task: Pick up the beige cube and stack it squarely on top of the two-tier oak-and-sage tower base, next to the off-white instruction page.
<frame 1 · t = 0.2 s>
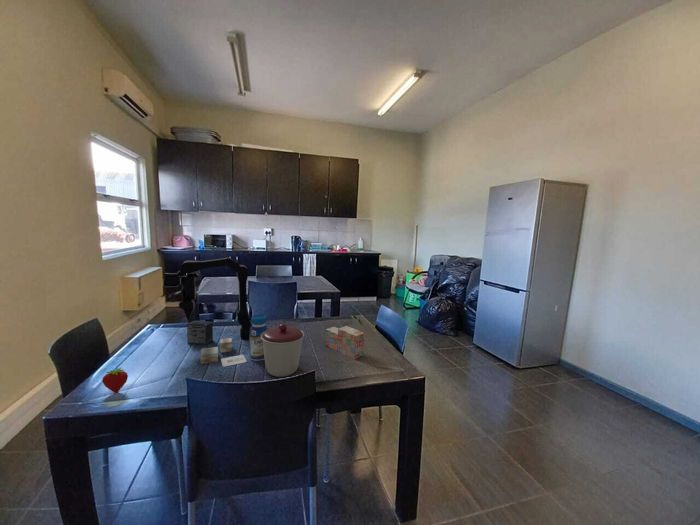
hand: (189, 316, 146), 14 cm above the table, fingers open, 9 cm apart
tower base: (209, 359, 132), on the table
stack of blocks: (343, 351, 147), on the table
canister: (282, 371, 125), on the table
beverage bottle: (258, 357, 136), on the table
beige cube: (226, 350, 142), on the table
small box: (200, 342, 150), on the table
strawberry: (116, 392, 105), on the table
instruction page: (233, 360, 132), on the table
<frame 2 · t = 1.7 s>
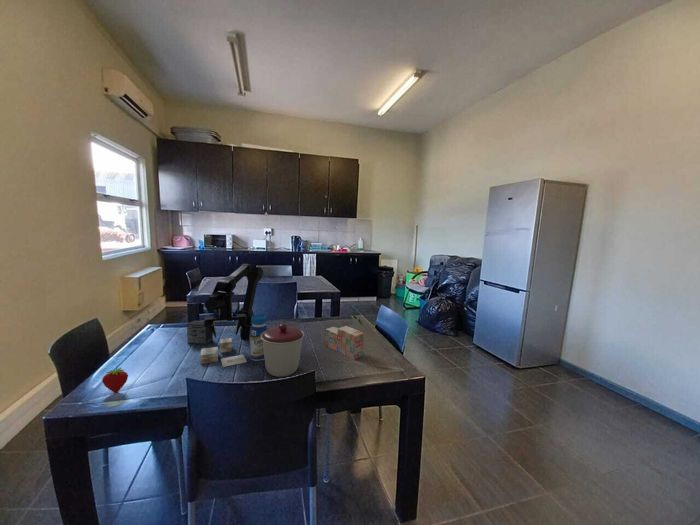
hand: (226, 336, 142), 7 cm above the table, fingers open, 9 cm apart
nothing on the table moved.
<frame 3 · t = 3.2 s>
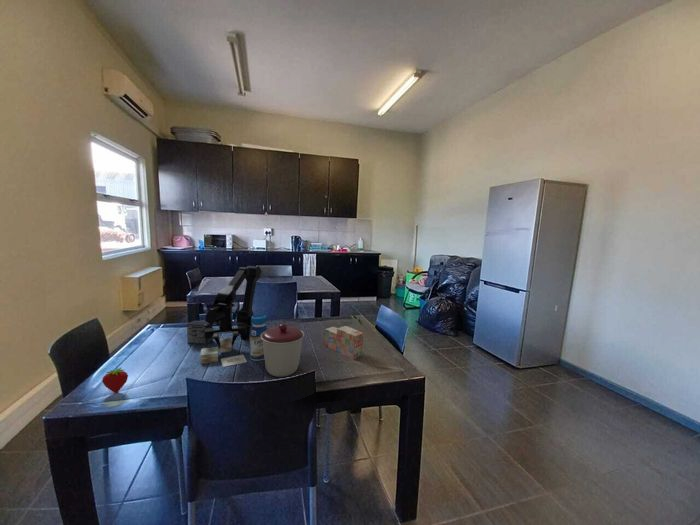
hand: (226, 347, 142), 1 cm above the table, fingers closed on beige cube, 5 cm apart
beige cube: (226, 349, 142), on the table, touching gripper
everything else where it was.
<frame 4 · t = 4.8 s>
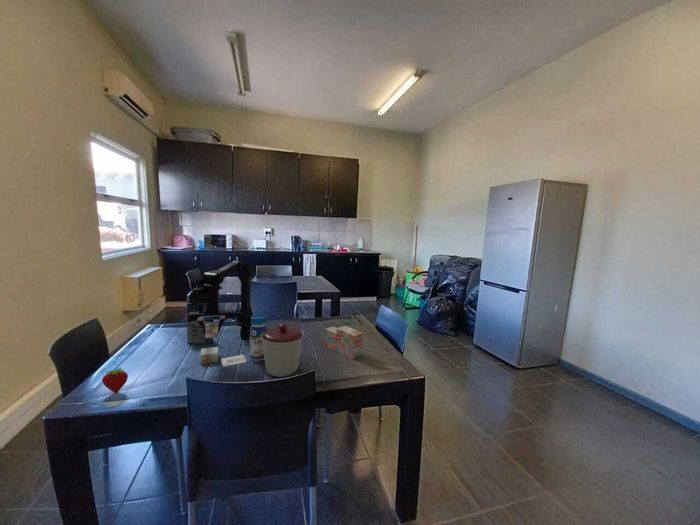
hand: (211, 333, 132), 12 cm above the table, fingers closed on beige cube, 5 cm apart
beige cube: (211, 335, 132), point 11 cm above the table, touching gripper
everything else where it was.
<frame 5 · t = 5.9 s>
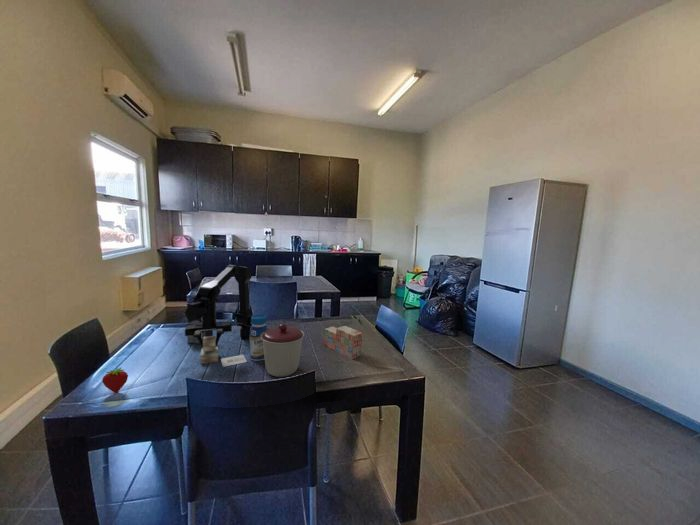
hand: (209, 346, 131), 6 cm above the table, fingers closed on beige cube, 5 cm apart
beige cube: (209, 348, 132), point 5 cm above the table, touching gripper
everything else where it was.
when the fingers open (6 cm above the table, at t = 6.6 s): beige cube stays where it is, resting on tower base.
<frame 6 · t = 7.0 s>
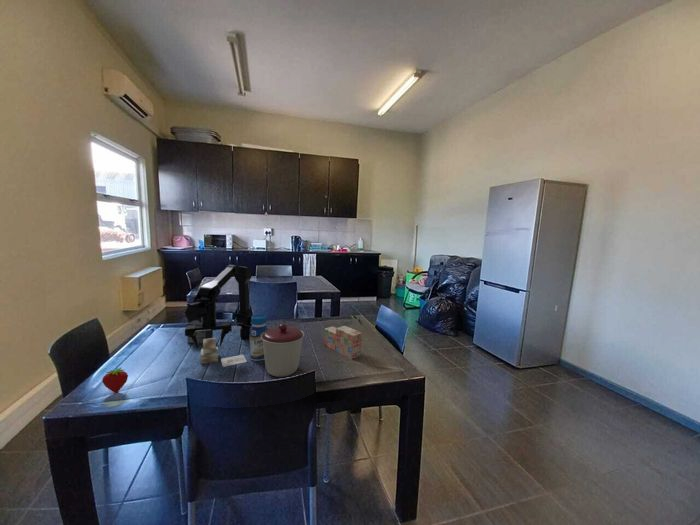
hand: (209, 346, 131), 6 cm above the table, fingers open, 9 cm apart
beige cube: (209, 350, 132), point 4 cm above the table, touching tower base
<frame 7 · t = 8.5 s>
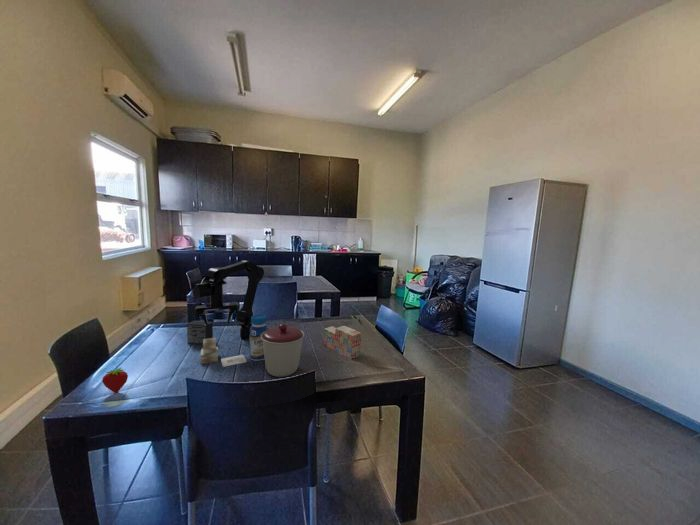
hand: (217, 325, 142), 12 cm above the table, fingers open, 9 cm apart
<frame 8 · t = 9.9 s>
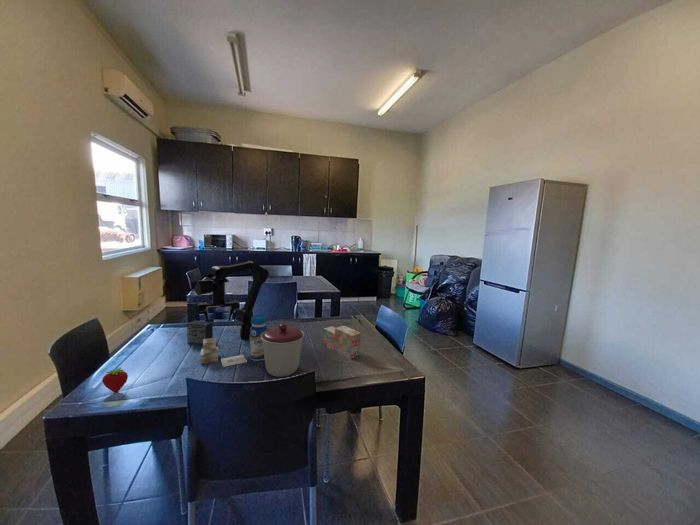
hand: (219, 322, 145), 13 cm above the table, fingers open, 9 cm apart
at the end: beige cube 0.1 cm off-centre on the tower base, point 4.0 cm above the tower base's base; beige cube tilted 0°; the gripper is holding nothing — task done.
